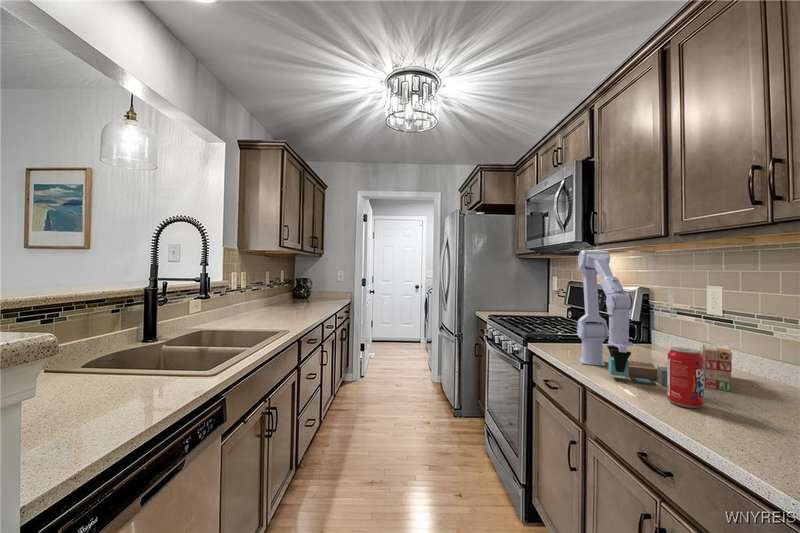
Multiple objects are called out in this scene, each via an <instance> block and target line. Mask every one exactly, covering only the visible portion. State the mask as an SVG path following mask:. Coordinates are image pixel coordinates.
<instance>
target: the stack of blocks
mask: <svg viewBox="0 0 800 533" xmlns="http://www.w3.org/2000/svg"><path fill="white" fill-rule="evenodd" d="M700 351H701V355H702V356H703V357H704V388H706V389H711V390H719V391H723V392H729V393H730V392H731V391H732V371H733V370H732V365H733V362H732V359H733V352H732V351H731V349H730V348H729V347H728V346H727V344H726V345H725V344H715V343H708V342H707V343H706V342H705V343H704V342H703V343H702V347H700Z"/></svg>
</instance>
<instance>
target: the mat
mask: <svg viewBox="0 0 800 533" xmlns="http://www.w3.org/2000/svg"><path fill="white" fill-rule="evenodd" d="M630 380H631V381H632V382H633V383H634V384H640V385H646V384H647V386H655V387H656V386H658V385H657V383H656V381H654V380H652V379H646V378H636V377H630Z"/></svg>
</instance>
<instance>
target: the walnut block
mask: <svg viewBox="0 0 800 533" xmlns="http://www.w3.org/2000/svg"><path fill="white" fill-rule="evenodd" d="M628 361H629V377H628V378H630V377H636V378H646V379H652V380H653V381H654V380H655V381H654V382H657V367H655V365H654V364H652V363H650V362H640V361H633V360H632V361H630V360H628ZM630 379H631V378H630Z"/></svg>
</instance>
